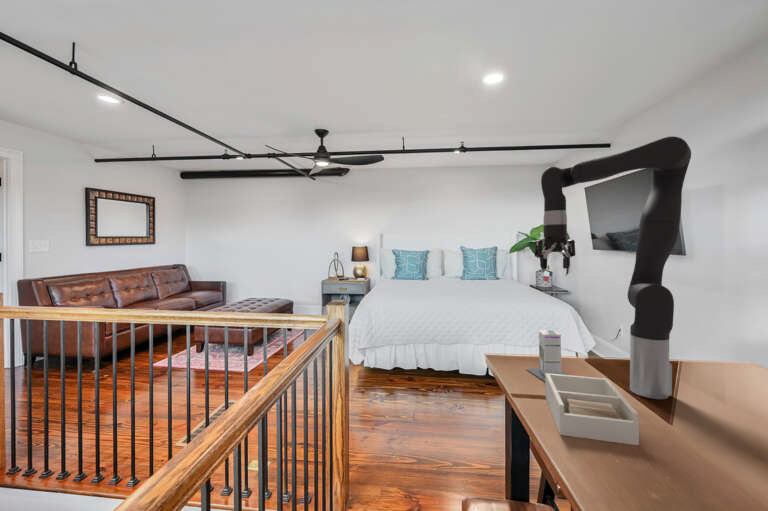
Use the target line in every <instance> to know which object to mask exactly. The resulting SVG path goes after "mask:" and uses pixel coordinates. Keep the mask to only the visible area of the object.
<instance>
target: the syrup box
mask: <svg viewBox="0 0 768 511" xmlns="http://www.w3.org/2000/svg"><path fill="white" fill-rule="evenodd" d="M561 336H562V335H561V334H560V333H559V332H557V331H556V330H552V329H551V330H550V329H544V330H538V339H539V340H538V342H539V343H538V355H539V358H538V360H539V362H538V364H539V367H538V368H539V369H540V371H541V373H542V374H543V375H544V376H545V373H549V374H560V375H561V371H562V344H561V343H562V342H561V341H562V337H561Z"/></svg>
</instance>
